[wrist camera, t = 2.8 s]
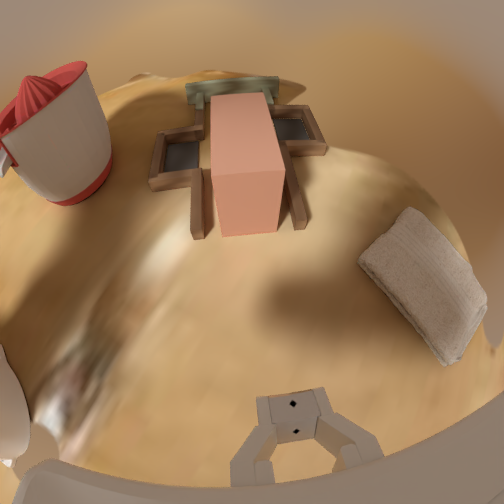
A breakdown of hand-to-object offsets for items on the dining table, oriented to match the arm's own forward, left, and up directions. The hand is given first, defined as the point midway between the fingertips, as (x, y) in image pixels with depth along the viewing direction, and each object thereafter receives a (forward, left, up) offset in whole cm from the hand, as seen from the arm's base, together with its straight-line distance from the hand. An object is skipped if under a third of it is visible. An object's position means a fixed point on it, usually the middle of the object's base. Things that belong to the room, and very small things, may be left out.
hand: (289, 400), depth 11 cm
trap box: (0, +30, -14) cm, 33 cm away
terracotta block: (0, +23, -14) cm, 27 cm away
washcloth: (+20, +7, -14) cm, 26 cm away
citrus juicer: (-26, +29, -14) cm, 41 cm away
